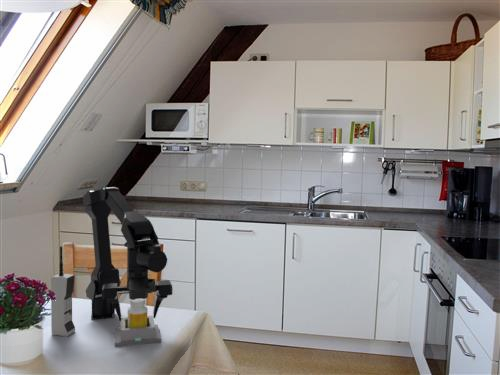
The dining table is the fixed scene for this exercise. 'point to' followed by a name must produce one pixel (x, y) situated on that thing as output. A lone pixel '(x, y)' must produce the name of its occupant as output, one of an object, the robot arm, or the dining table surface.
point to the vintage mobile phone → (62, 302)
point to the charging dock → (137, 333)
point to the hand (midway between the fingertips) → (137, 319)
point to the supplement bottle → (137, 313)
